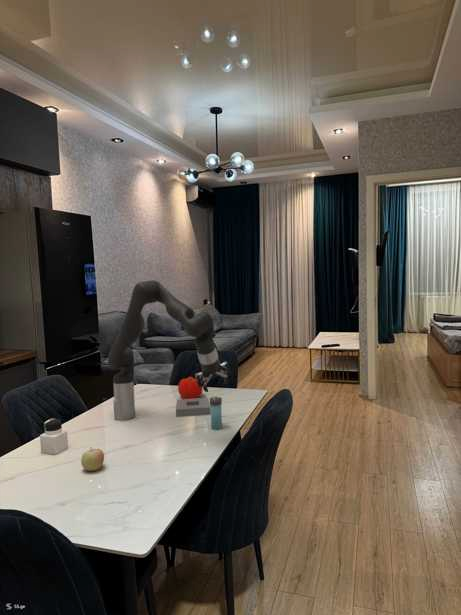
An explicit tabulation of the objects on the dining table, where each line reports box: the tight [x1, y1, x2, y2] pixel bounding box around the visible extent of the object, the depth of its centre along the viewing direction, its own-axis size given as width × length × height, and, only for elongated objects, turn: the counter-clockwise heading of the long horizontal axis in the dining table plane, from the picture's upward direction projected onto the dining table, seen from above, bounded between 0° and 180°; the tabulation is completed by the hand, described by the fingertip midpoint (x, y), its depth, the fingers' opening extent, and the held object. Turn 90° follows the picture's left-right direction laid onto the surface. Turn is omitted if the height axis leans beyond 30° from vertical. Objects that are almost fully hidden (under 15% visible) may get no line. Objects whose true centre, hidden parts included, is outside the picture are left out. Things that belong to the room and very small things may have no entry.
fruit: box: [80, 447, 105, 472], centre depth 146 cm, size 8×7×8 cm
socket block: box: [175, 397, 211, 418], centre depth 206 cm, size 16×16×4 cm
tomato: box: [177, 376, 204, 399], centre depth 228 cm, size 14×13×10 cm
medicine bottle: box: [39, 418, 69, 456], centre depth 163 cm, size 7×7×12 cm
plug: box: [209, 396, 223, 431], centre depth 181 cm, size 5×5×14 cm
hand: (216, 386), depth 173 cm, fingers open, 8 cm apart
